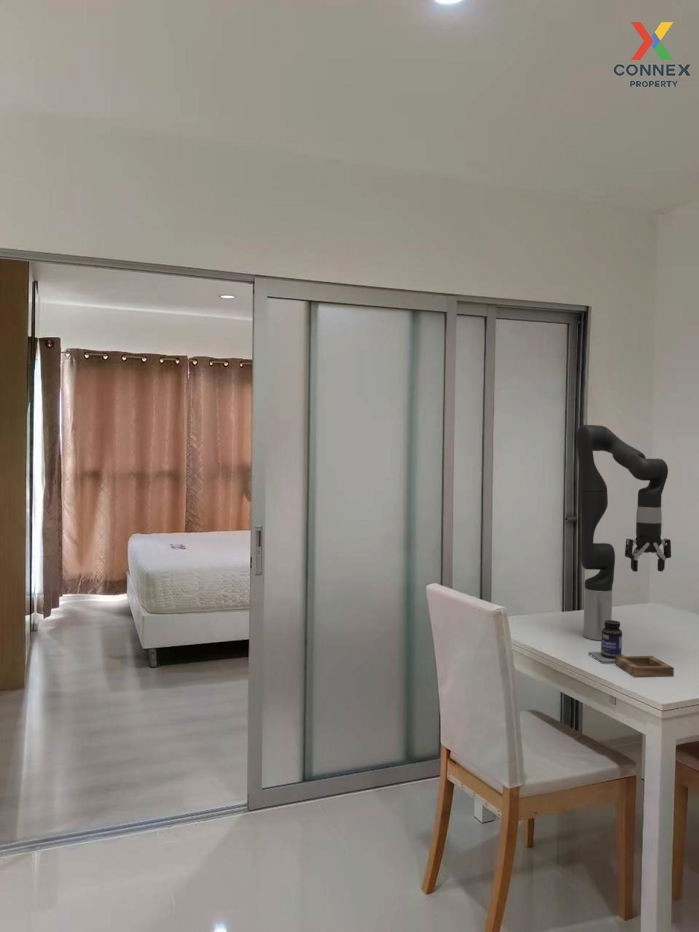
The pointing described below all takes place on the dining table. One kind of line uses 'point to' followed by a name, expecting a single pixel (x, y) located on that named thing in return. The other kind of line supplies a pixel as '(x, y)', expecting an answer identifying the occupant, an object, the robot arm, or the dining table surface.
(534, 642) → the dining table surface
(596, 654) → the grey pad
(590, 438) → the robot arm
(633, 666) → the walnut holder
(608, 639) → the pill bottle
